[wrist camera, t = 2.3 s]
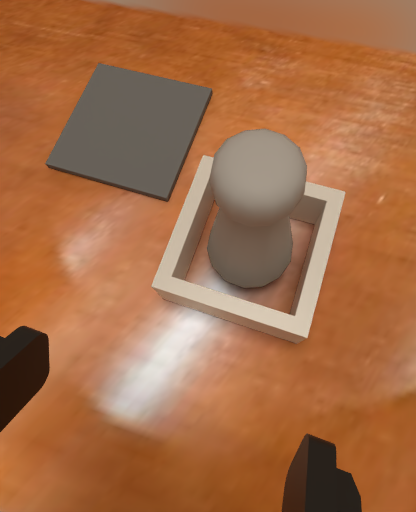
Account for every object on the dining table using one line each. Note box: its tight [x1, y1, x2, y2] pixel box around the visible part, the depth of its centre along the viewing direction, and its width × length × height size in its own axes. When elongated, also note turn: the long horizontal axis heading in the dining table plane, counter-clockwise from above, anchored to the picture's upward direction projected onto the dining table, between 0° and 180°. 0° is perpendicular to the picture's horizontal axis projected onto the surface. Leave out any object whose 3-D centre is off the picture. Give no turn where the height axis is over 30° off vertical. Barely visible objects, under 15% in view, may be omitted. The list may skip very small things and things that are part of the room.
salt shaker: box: [207, 129, 307, 288], centre depth 22 cm, size 6×6×13 cm
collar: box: [151, 155, 345, 344], centre depth 26 cm, size 10×10×4 cm
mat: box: [45, 63, 212, 202], centre depth 32 cm, size 11×11×1 cm
